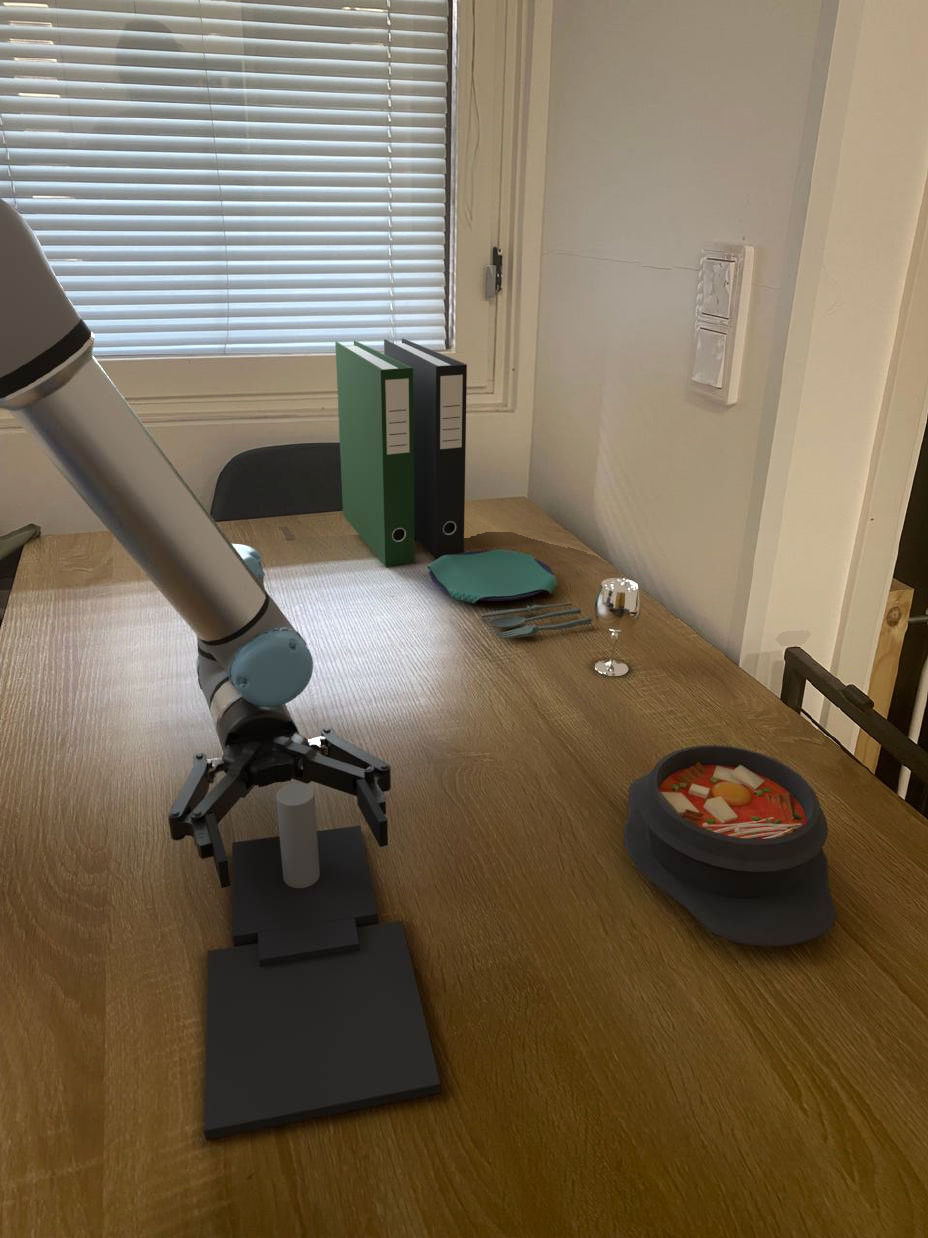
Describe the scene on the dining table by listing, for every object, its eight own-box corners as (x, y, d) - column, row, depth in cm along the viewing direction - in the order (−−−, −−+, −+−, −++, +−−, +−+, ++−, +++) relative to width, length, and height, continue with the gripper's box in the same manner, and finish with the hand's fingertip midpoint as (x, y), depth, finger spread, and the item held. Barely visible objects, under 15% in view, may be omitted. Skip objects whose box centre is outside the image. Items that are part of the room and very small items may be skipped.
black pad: (205, 1141, 60) (203, 1131, 60) (209, 959, 74) (207, 950, 74) (440, 1093, 64) (440, 1084, 63) (401, 928, 78) (401, 919, 77)
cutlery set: (524, 555, 156) (525, 542, 155) (605, 629, 131) (606, 614, 130) (413, 568, 150) (413, 555, 149) (475, 648, 125) (476, 633, 124)
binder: (339, 515, 173) (331, 341, 159) (412, 506, 178) (410, 337, 164) (385, 566, 151) (380, 369, 137) (467, 554, 156) (470, 364, 142)
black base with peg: (235, 980, 73) (221, 875, 68) (233, 857, 86) (222, 762, 81) (384, 956, 75) (381, 852, 70) (360, 840, 88) (356, 746, 84)
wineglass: (585, 658, 123) (592, 576, 117) (626, 657, 123) (635, 575, 118) (595, 679, 117) (603, 595, 112) (638, 678, 118) (648, 593, 113)
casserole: (887, 948, 77) (909, 871, 73) (679, 977, 74) (692, 897, 70) (751, 775, 99) (763, 709, 95) (587, 792, 96) (593, 724, 92)
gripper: (371, 732, 100) (444, 851, 82) (132, 782, 91) (157, 929, 73) (369, 672, 96) (444, 783, 79) (121, 718, 87) (144, 855, 70)
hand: (306, 853), depth 76 cm, fingers open, 13 cm apart
